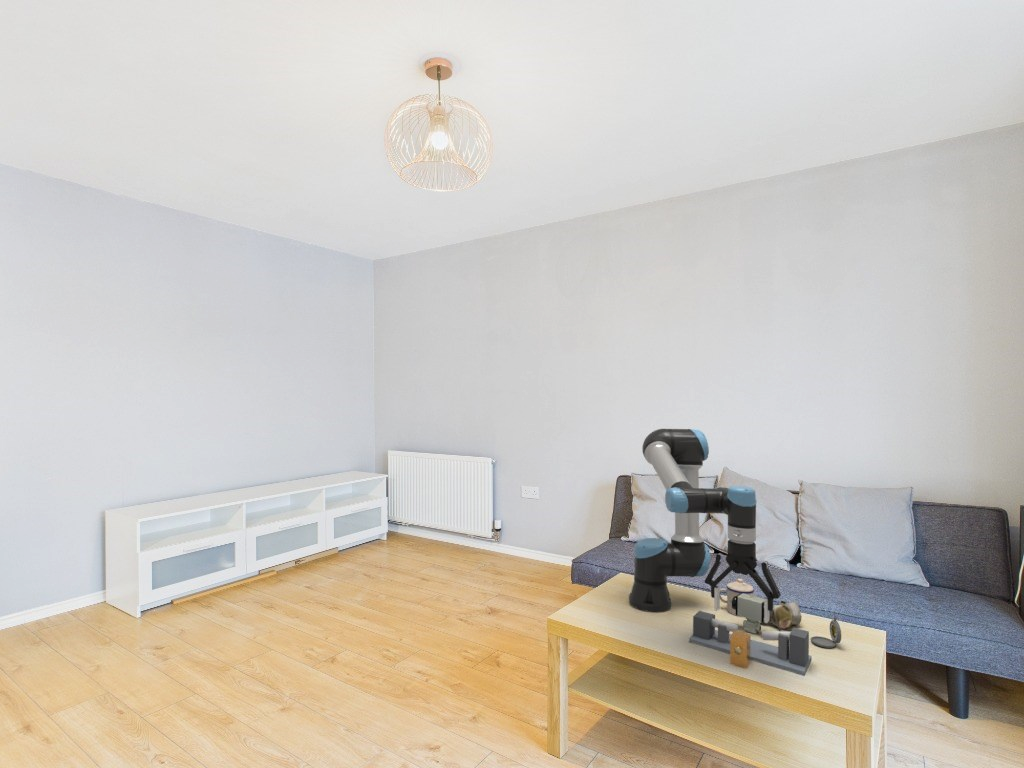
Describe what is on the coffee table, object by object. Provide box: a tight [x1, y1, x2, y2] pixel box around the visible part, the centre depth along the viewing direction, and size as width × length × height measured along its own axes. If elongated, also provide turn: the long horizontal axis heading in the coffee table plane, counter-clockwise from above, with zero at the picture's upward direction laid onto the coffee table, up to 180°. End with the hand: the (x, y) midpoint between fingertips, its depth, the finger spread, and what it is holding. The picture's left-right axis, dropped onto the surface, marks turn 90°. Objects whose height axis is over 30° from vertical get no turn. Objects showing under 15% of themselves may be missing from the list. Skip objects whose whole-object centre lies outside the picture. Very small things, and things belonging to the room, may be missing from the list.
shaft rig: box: [688, 610, 812, 676], centre depth 163 cm, size 32×12×9 cm, turn 53°
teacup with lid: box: [720, 578, 755, 617], centre depth 193 cm, size 12×9×12 cm
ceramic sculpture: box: [768, 600, 803, 631], centre depth 181 cm, size 11×9×15 cm
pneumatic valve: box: [732, 593, 773, 635], centre depth 177 cm, size 6×12×12 cm, turn 45°
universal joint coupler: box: [729, 630, 752, 669], centre depth 155 cm, size 6×4×8 cm
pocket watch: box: [810, 612, 842, 649], centre depth 168 cm, size 8×8×10 cm
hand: (741, 615), depth 155 cm, fingers open, 13 cm apart
